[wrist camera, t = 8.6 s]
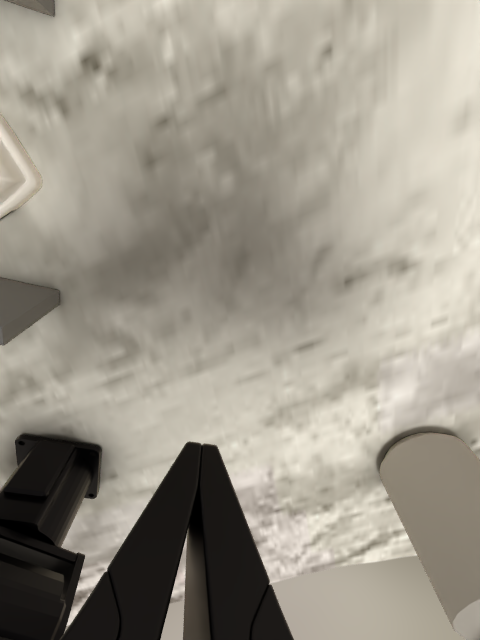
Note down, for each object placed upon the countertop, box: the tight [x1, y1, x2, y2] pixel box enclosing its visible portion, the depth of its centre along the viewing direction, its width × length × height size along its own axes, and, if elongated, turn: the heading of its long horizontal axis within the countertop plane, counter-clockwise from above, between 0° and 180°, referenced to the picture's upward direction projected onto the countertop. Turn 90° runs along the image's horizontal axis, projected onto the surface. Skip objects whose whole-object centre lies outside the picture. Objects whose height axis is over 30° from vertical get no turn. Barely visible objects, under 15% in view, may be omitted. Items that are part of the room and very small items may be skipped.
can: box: [379, 432, 480, 640], centre depth 20 cm, size 8×8×12 cm
